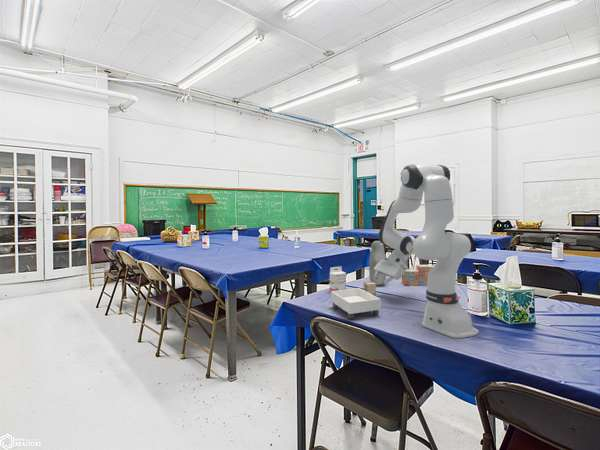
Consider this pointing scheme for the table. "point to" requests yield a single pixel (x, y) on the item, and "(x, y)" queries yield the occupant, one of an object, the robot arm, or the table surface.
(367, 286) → the maple part block
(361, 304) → the tray
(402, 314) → the table surface
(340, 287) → the ink cartridge box
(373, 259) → the grey bottle
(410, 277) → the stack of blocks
